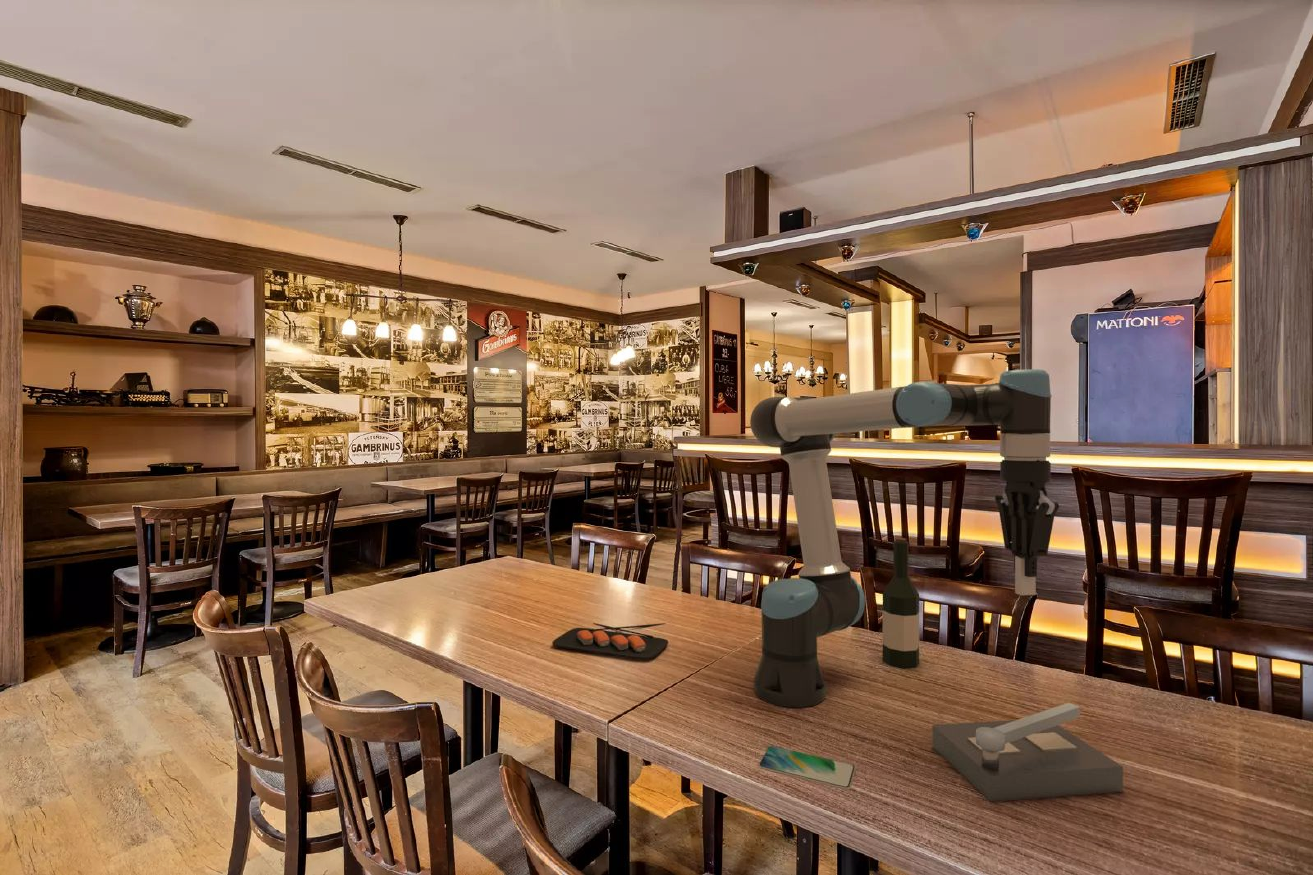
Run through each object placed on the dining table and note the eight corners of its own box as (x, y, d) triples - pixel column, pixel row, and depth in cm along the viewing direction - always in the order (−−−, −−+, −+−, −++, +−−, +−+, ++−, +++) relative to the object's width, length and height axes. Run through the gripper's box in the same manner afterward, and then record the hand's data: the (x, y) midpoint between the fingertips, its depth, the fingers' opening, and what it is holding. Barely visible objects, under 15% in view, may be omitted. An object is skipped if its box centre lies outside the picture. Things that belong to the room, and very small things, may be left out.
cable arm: (993, 753, 94) (993, 742, 94) (970, 741, 98) (970, 730, 98) (1086, 720, 104) (1086, 709, 104) (1062, 710, 108) (1062, 700, 108)
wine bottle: (922, 670, 144) (923, 542, 143) (885, 667, 145) (885, 541, 145) (915, 657, 152) (915, 536, 151) (879, 654, 154) (880, 535, 153)
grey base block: (990, 801, 94) (990, 757, 93) (932, 747, 109) (932, 709, 109) (1122, 791, 96) (1123, 748, 96) (1047, 739, 112) (1047, 702, 112)
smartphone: (849, 789, 97) (757, 765, 103) (849, 794, 97) (757, 770, 103) (856, 764, 103) (768, 744, 110) (856, 769, 103) (768, 749, 110)
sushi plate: (547, 650, 159) (547, 636, 159) (600, 617, 187) (600, 604, 187) (651, 666, 148) (650, 651, 148) (691, 628, 176) (691, 615, 176)
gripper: (1074, 460, 101) (1074, 603, 101) (1019, 456, 114) (1019, 583, 114) (1031, 461, 100) (1031, 605, 100) (981, 457, 113) (981, 585, 113)
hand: (1025, 593), depth 107 cm, fingers closed
